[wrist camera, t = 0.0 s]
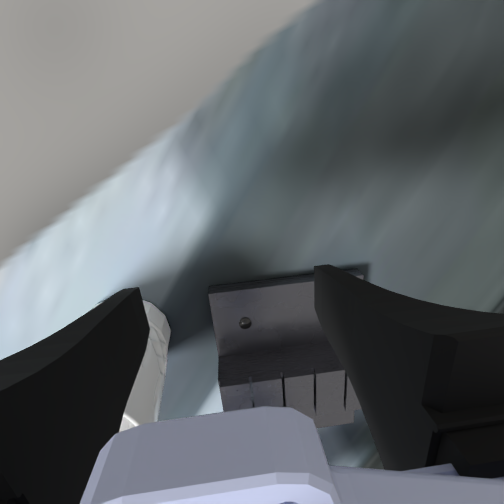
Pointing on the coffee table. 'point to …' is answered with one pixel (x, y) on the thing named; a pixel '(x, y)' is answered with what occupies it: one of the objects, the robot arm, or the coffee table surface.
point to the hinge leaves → (279, 350)
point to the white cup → (149, 373)
